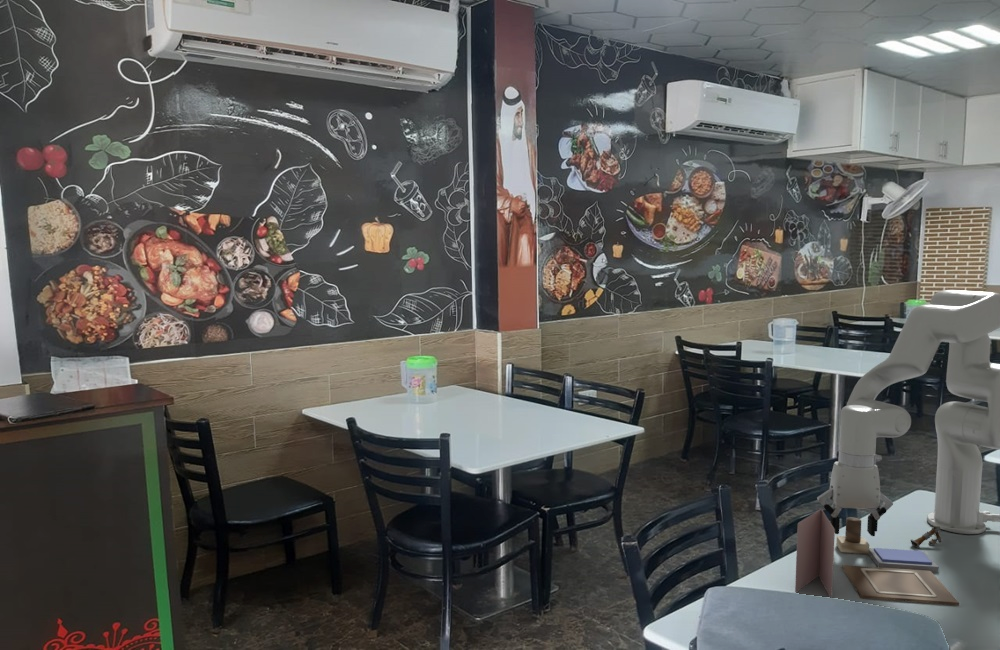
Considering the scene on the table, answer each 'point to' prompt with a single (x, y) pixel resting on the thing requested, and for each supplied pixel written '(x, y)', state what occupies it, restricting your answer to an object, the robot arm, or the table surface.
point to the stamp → (852, 538)
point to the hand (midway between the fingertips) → (853, 532)
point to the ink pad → (902, 559)
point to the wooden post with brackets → (927, 536)
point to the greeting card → (815, 551)
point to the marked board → (898, 585)
